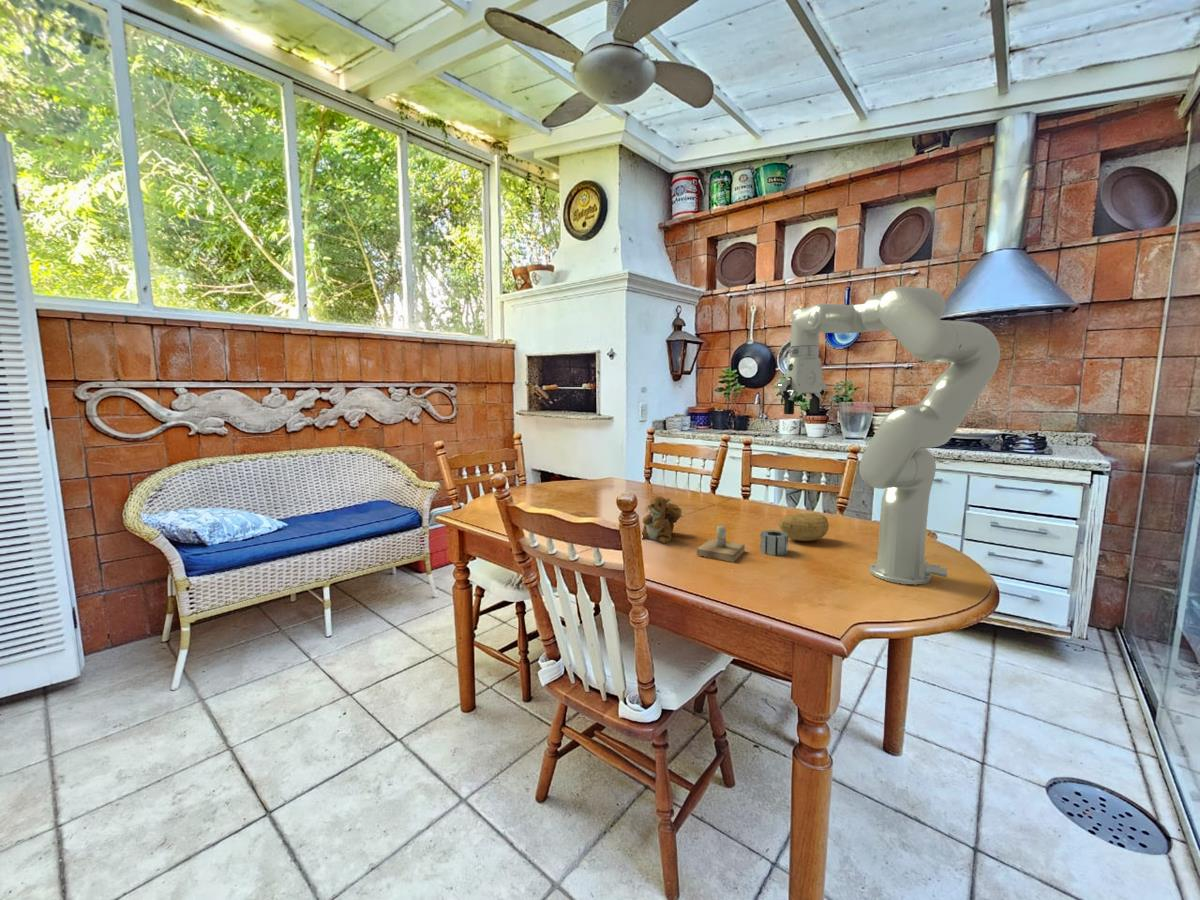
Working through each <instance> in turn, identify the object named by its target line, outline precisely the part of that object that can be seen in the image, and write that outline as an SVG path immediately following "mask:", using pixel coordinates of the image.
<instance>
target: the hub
mask: <svg viewBox="0 0 1200 900" xmlns="http://www.w3.org/2000/svg"><path fill="white" fill-rule="evenodd" d="M788 547H789V537H788V534H787V533H785V532H783V531H782V530H775V529H773V530H772V529H769V530H762V531H761V532H760V552H761V553H763V554H765V555H768V554H769V556H774V555H775V556H777V557H779V556H778V555H780V556H785V554H786V555H787V554H788V549H789V548H788ZM766 553H767V554H766Z"/></svg>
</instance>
